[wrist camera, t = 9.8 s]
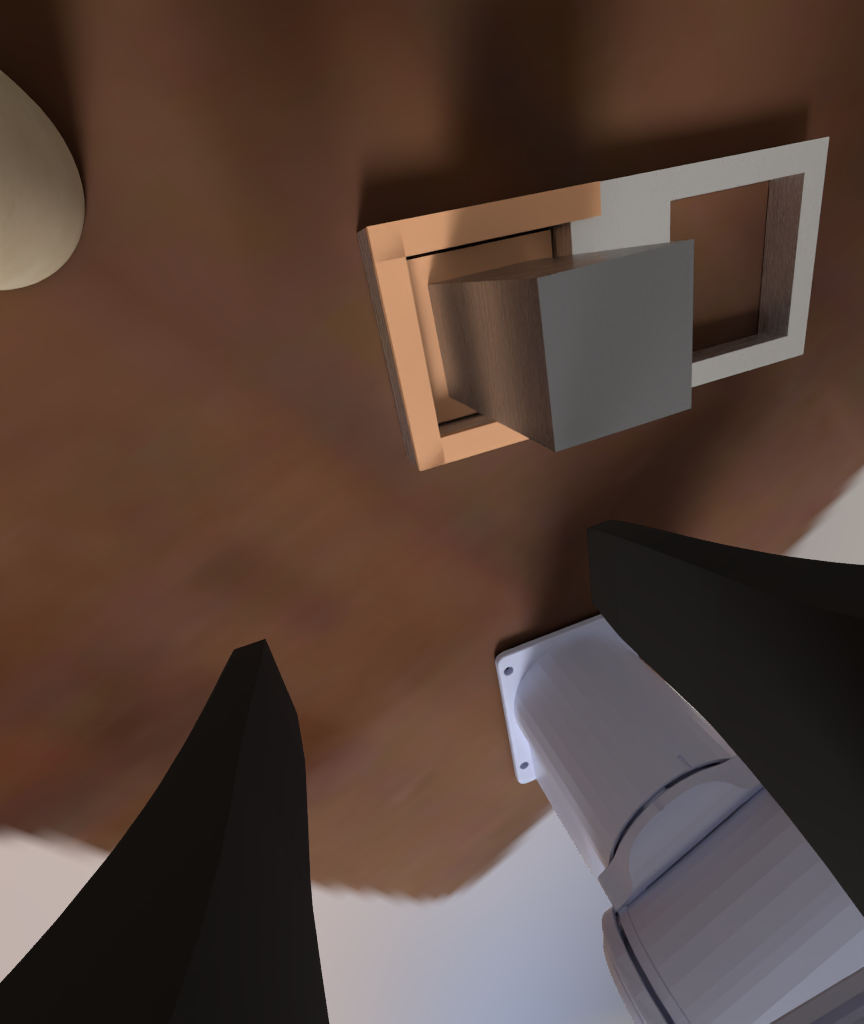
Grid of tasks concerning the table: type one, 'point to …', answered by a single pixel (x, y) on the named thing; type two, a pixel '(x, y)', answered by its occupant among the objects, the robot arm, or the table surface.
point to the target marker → (410, 279)
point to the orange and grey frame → (646, 220)
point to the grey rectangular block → (572, 341)
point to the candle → (34, 192)
